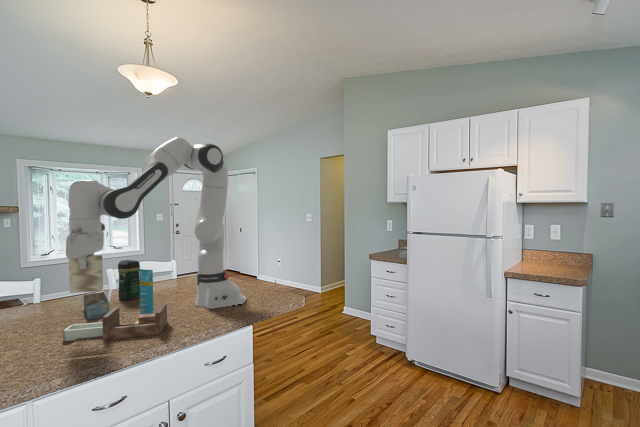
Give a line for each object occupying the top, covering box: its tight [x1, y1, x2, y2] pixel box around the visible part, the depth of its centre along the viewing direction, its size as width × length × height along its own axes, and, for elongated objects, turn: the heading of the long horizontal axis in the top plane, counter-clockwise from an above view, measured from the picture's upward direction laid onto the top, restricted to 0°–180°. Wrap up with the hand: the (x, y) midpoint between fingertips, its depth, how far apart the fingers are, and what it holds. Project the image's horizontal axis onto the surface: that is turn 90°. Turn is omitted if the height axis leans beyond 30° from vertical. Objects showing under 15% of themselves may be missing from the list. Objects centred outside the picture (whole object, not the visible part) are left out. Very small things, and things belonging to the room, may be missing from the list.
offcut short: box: [138, 312, 156, 324], centre depth 120 cm, size 6×4×2 cm
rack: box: [101, 302, 168, 340], centre depth 117 cm, size 18×11×8 cm, turn 104°
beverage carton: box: [83, 291, 110, 320], centre depth 140 cm, size 8×19×7 cm, turn 38°
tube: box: [139, 268, 155, 316], centre depth 133 cm, size 7×5×19 cm, turn 72°
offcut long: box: [134, 320, 156, 325], centre depth 120 cm, size 7×4×2 cm, turn 104°
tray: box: [62, 321, 103, 342], centre depth 114 cm, size 12×6×4 cm, turn 104°
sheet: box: [68, 254, 104, 294], centre depth 113 cm, size 9×2×12 cm, turn 104°
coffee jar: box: [117, 259, 141, 301], centre depth 159 cm, size 10×8×19 cm
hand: (86, 267), depth 113 cm, fingers closed on sheet, 2 cm apart
